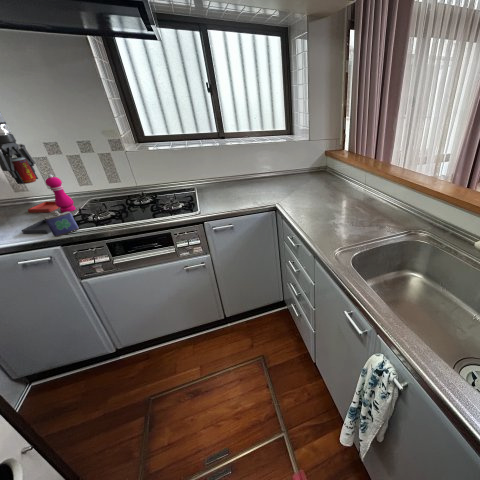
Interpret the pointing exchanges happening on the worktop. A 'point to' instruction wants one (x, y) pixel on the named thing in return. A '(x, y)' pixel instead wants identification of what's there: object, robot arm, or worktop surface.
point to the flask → (61, 223)
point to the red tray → (44, 207)
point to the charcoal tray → (37, 228)
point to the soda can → (23, 169)
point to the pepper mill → (60, 194)
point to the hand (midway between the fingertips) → (28, 181)
